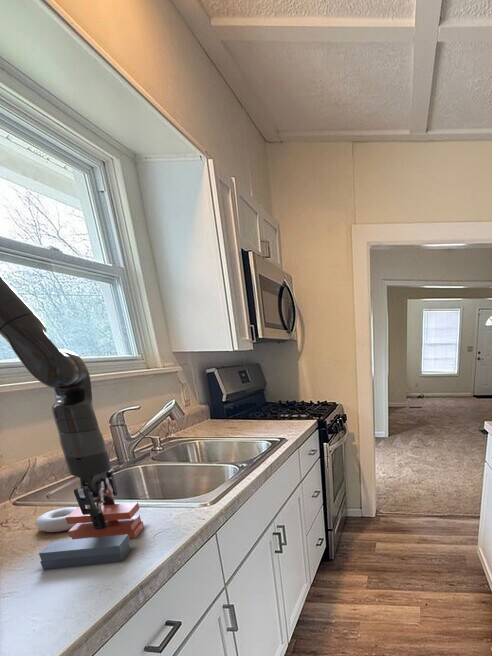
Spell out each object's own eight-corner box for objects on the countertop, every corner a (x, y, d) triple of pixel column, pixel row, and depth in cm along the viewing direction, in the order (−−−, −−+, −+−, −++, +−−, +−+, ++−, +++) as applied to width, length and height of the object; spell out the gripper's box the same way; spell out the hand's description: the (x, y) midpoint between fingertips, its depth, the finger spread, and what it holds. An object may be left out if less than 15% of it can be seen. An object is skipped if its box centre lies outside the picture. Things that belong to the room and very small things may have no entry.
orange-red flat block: (72, 544, 89) (67, 531, 88) (84, 532, 94) (80, 519, 93) (135, 538, 91) (132, 525, 90) (144, 526, 97) (141, 514, 96)
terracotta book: (67, 524, 87) (65, 517, 86) (80, 513, 93) (78, 507, 92) (130, 518, 90) (129, 512, 89) (139, 508, 95) (138, 502, 95)
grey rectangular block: (42, 569, 79) (36, 553, 77) (56, 556, 84) (51, 541, 82) (123, 561, 82) (118, 545, 80) (132, 549, 87) (128, 534, 85)
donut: (27, 533, 94) (63, 535, 92) (22, 520, 93) (58, 522, 91) (65, 516, 103) (99, 518, 102) (61, 504, 102) (95, 506, 100)
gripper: (80, 444, 91) (101, 512, 97) (47, 460, 78) (73, 537, 84) (117, 442, 92) (135, 509, 99) (90, 458, 79) (113, 534, 86)
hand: (106, 522), depth 92 cm, fingers closed on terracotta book, 6 cm apart
